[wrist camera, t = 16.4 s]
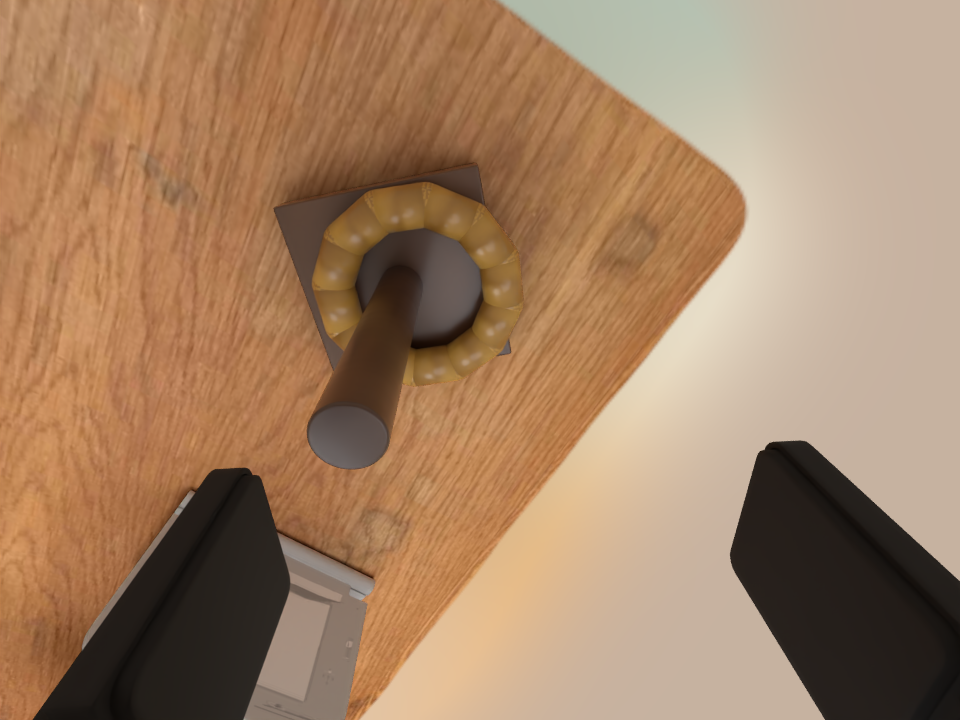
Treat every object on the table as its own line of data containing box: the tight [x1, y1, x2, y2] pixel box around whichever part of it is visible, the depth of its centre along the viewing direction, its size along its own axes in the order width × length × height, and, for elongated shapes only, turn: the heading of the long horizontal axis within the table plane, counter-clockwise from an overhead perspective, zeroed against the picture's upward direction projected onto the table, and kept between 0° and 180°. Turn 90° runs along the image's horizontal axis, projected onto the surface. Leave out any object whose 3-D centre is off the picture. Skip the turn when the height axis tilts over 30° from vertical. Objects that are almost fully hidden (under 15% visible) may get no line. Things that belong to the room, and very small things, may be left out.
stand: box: [274, 163, 511, 469], centre depth 18 cm, size 9×9×14 cm
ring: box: [312, 182, 524, 387], centre depth 22 cm, size 9×9×2 cm
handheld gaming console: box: [82, 490, 375, 720], centre depth 28 cm, size 13×9×10 cm
